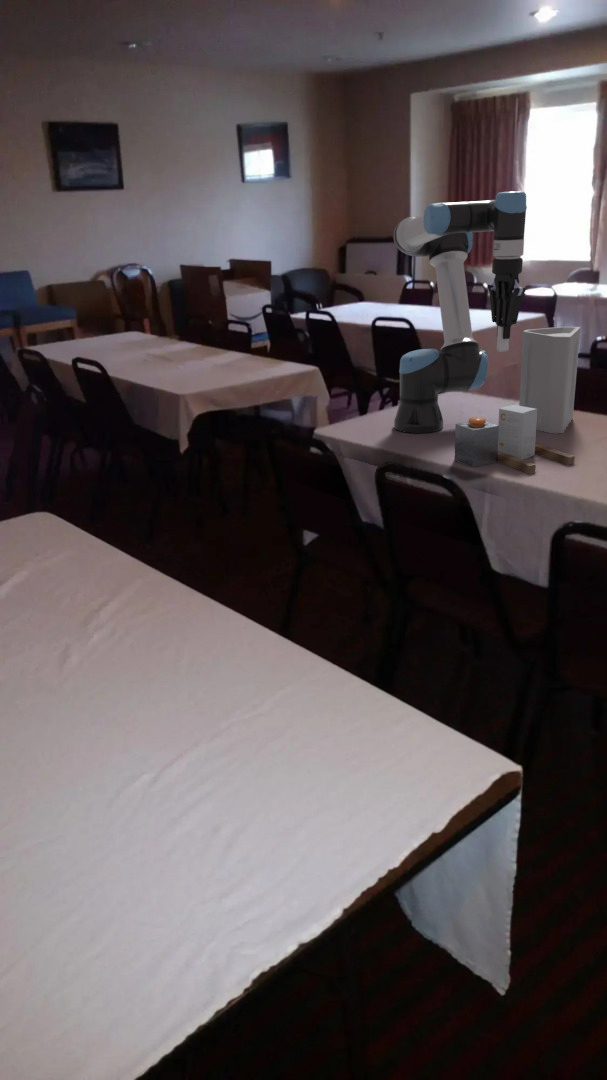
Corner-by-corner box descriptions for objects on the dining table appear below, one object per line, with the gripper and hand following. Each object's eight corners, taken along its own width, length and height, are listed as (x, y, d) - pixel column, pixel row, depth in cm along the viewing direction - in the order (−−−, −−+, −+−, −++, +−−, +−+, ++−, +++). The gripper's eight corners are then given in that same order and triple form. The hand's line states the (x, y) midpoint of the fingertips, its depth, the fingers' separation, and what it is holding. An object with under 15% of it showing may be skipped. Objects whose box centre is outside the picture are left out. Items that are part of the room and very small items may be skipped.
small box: (535, 455, 217) (538, 408, 212) (520, 460, 214) (523, 413, 209) (510, 450, 223) (513, 403, 218) (496, 454, 220) (498, 408, 215)
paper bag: (525, 415, 258) (530, 326, 247) (573, 418, 252) (580, 326, 241) (511, 430, 242) (517, 335, 232) (562, 433, 236) (570, 336, 225)
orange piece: (464, 443, 215) (465, 418, 212) (477, 441, 216) (478, 416, 214) (474, 447, 211) (475, 422, 208) (488, 444, 213) (489, 419, 210)
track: (479, 454, 221) (480, 447, 220) (523, 445, 226) (523, 439, 226) (528, 473, 204) (529, 466, 203) (574, 463, 210) (574, 456, 209)
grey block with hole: (454, 459, 217) (455, 423, 213) (478, 454, 220) (479, 419, 217) (472, 467, 211) (474, 430, 207) (497, 462, 214) (498, 425, 210)
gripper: (480, 257, 209) (476, 348, 218) (511, 259, 197) (505, 356, 207) (504, 255, 211) (499, 345, 221) (536, 257, 200) (529, 352, 210)
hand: (502, 350), depth 214 cm, fingers closed
